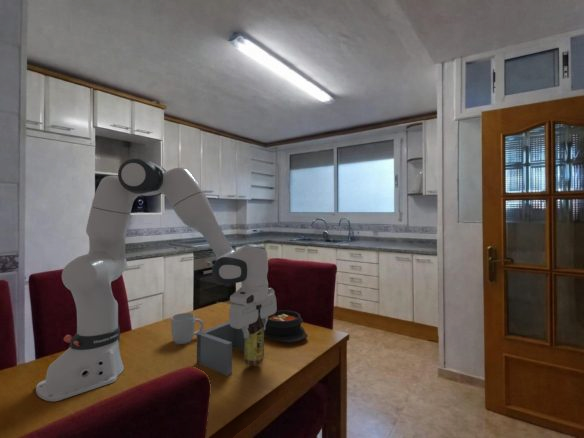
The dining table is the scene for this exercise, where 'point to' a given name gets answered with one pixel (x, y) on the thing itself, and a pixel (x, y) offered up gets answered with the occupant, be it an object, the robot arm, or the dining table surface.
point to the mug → (184, 327)
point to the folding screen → (219, 347)
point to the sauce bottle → (255, 341)
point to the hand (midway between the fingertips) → (254, 333)
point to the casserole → (285, 326)
